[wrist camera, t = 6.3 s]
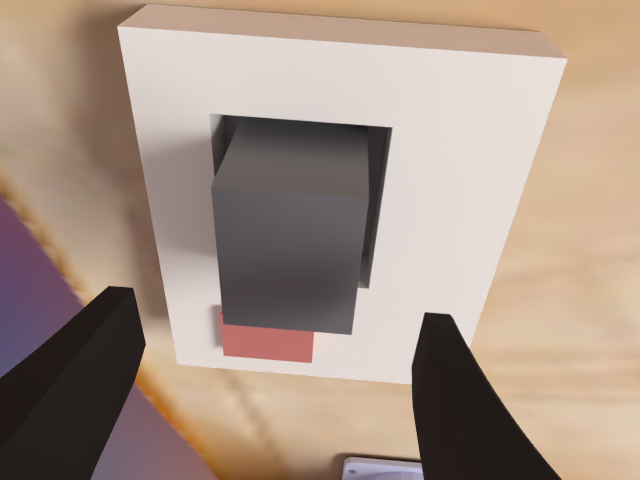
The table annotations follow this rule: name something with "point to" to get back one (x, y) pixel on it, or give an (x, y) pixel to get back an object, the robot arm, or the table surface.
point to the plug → (291, 224)
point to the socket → (383, 165)
